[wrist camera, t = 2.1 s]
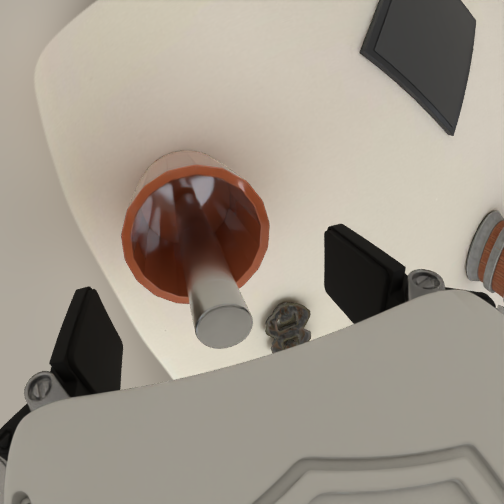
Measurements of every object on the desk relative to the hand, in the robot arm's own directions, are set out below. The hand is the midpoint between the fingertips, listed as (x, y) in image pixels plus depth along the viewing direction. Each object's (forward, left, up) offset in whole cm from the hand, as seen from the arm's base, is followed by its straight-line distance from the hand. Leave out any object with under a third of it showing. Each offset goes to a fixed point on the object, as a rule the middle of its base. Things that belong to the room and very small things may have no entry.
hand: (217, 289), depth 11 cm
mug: (+52, +11, -12) cm, 54 cm away
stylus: (0, 0, -12) cm, 12 cm away
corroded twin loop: (+14, -10, -12) cm, 21 cm away
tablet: (+17, +29, -12) cm, 36 cm away
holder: (0, 0, -12) cm, 12 cm away
